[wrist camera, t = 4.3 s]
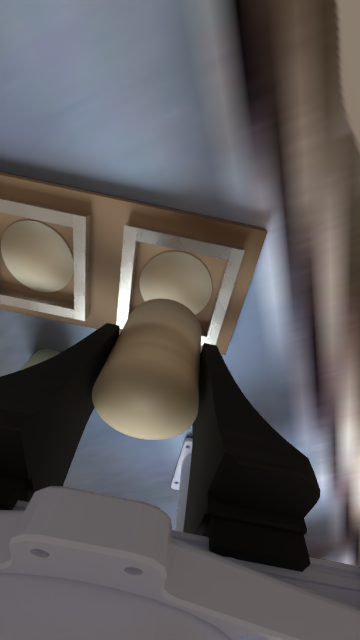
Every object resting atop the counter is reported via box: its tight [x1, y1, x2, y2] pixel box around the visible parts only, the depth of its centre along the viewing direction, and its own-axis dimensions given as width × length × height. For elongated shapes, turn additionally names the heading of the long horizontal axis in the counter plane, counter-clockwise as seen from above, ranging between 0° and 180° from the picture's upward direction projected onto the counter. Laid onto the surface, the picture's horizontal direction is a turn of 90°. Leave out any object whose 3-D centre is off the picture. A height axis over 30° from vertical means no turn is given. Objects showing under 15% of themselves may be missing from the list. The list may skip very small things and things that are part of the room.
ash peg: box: [92, 298, 201, 440], centre depth 12 cm, size 4×4×5 cm
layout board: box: [0, 172, 267, 355], centre depth 20 cm, size 10×20×2 cm, turn 79°
